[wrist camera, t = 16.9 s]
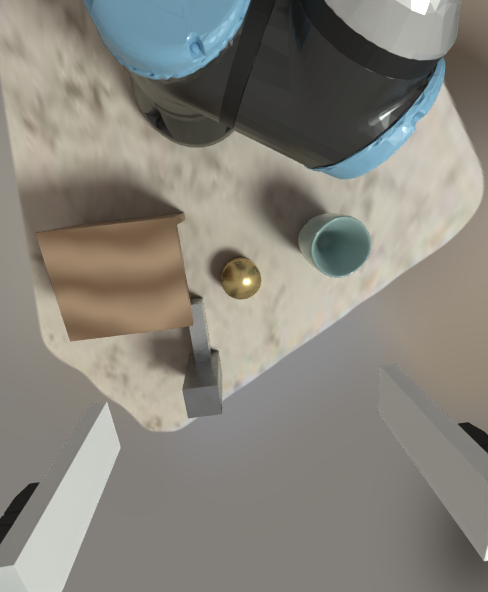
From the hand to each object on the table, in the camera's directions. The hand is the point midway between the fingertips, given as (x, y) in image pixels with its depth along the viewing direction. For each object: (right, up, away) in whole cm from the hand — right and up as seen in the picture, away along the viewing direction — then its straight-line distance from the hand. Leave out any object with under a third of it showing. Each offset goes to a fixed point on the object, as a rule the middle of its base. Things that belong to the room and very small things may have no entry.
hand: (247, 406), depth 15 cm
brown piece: (-16, +10, +32) cm, 37 cm away
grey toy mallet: (-7, -2, +37) cm, 38 cm away
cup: (+11, +15, +33) cm, 38 cm away
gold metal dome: (-1, +9, +34) cm, 35 cm away
